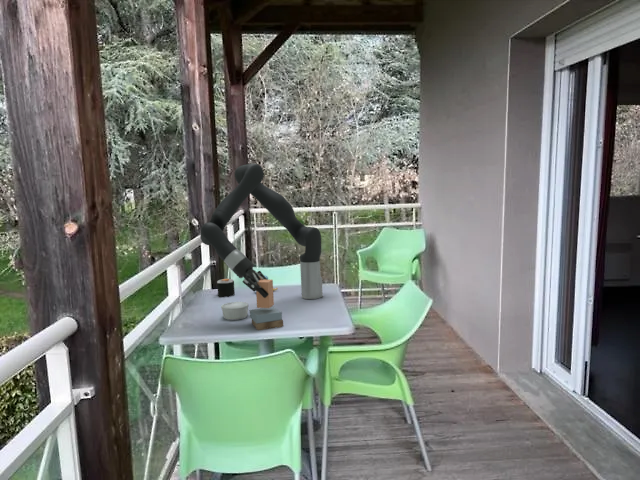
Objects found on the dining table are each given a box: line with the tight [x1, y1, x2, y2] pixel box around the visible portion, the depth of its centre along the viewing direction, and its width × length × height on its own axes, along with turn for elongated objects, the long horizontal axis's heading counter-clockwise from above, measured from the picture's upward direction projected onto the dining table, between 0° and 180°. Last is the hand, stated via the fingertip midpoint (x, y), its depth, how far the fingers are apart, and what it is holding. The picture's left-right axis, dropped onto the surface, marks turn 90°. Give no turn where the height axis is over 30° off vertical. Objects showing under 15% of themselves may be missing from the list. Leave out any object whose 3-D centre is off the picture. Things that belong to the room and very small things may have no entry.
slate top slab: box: [248, 306, 283, 323], centre depth 193 cm, size 10×10×3 cm
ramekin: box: [221, 301, 249, 321], centre depth 206 cm, size 11×11×5 cm
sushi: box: [216, 278, 235, 298], centre depth 246 cm, size 8×8×8 cm
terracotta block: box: [255, 279, 275, 309], centre depth 192 cm, size 5×5×10 cm
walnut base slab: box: [251, 319, 284, 331], centre depth 193 cm, size 10×10×3 cm
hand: (269, 294), depth 192 cm, fingers closed on terracotta block, 5 cm apart
